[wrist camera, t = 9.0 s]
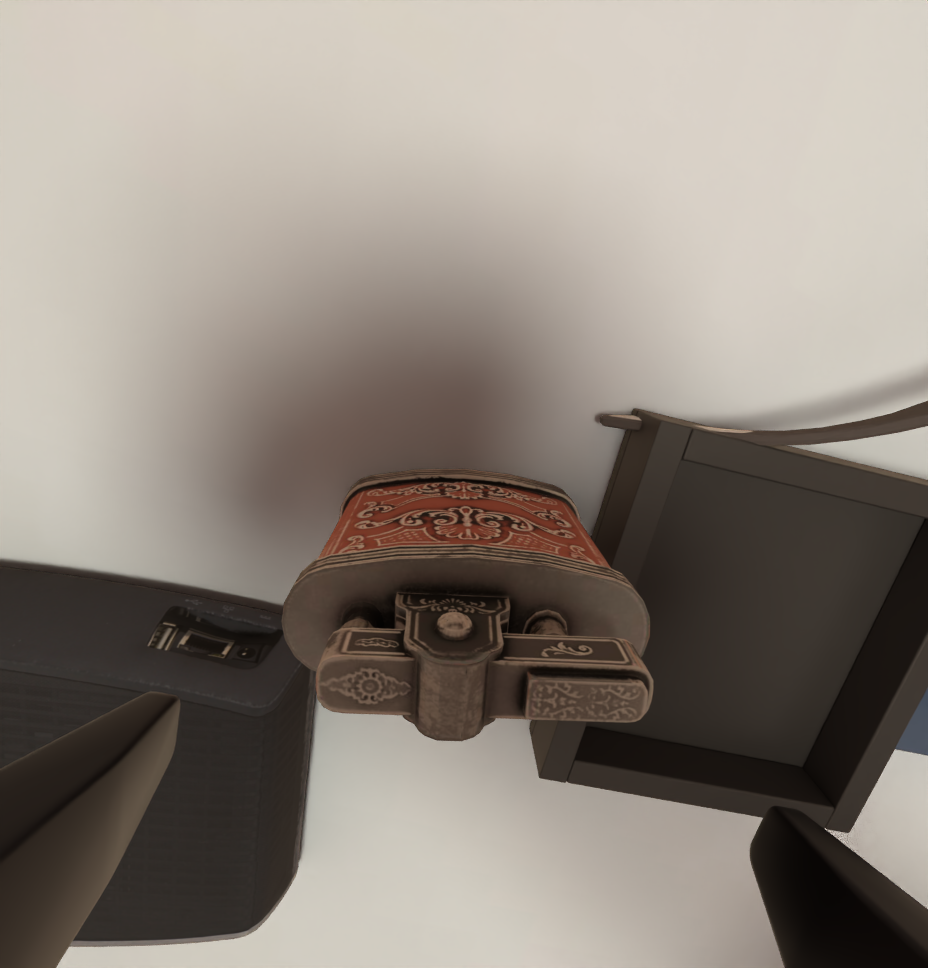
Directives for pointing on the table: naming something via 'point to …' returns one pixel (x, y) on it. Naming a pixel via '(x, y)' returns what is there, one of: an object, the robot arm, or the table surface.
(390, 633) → the lighter
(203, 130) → the table surface
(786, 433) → the sunglasses
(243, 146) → the table surface
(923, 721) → the box
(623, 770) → the holder
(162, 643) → the hard drive
